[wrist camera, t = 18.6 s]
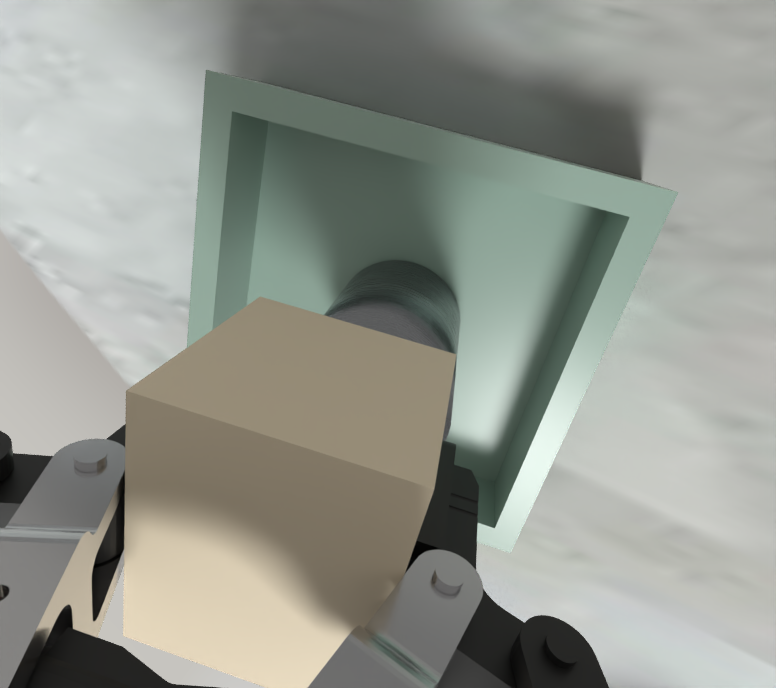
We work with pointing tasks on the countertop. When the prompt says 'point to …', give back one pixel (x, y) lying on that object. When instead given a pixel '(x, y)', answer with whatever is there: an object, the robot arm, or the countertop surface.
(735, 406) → the countertop surface
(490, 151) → the tote
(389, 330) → the tin
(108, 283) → the countertop surface
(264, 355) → the carton
